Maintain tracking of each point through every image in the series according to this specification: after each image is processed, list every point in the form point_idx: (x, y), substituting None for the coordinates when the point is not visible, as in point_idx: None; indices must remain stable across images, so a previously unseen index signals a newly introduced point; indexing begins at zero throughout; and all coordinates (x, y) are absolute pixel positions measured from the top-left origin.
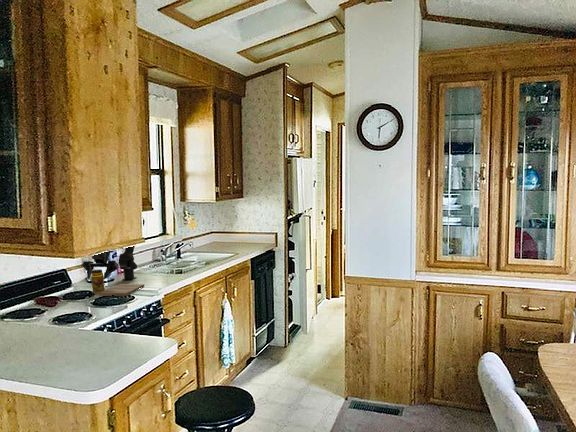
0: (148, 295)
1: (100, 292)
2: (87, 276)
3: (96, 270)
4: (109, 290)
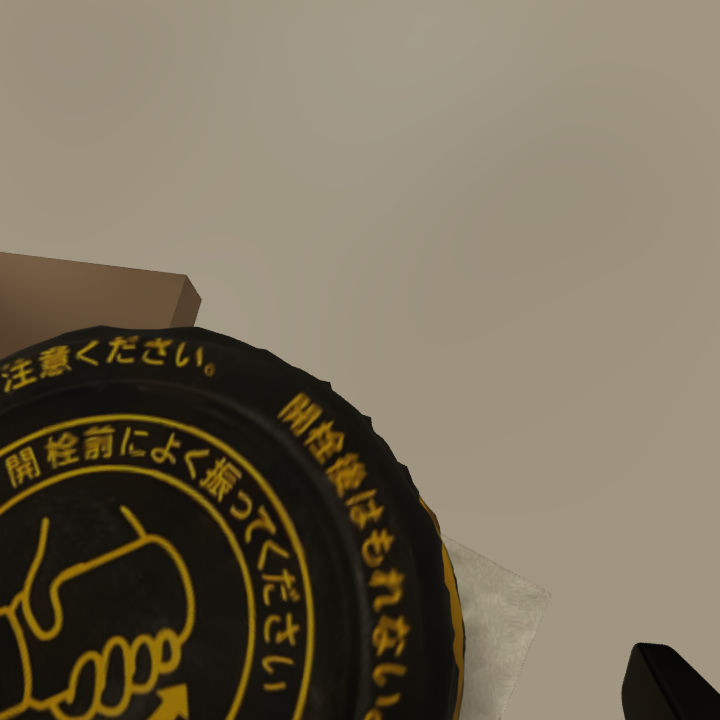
0: None
1: (164, 307)
2: (717, 694)
3: (137, 717)
4: None
